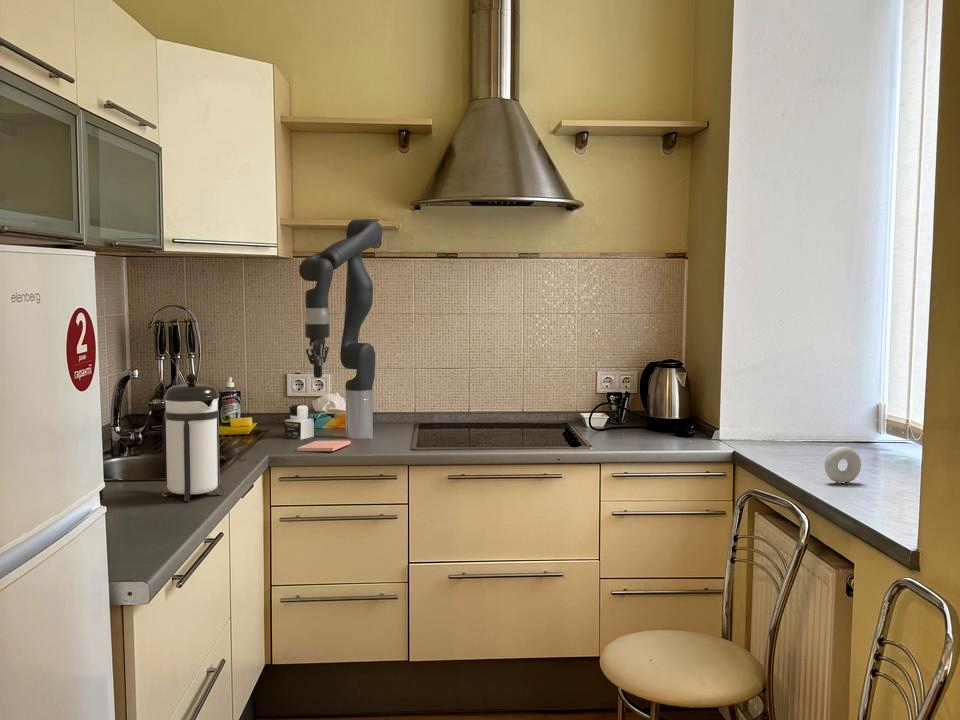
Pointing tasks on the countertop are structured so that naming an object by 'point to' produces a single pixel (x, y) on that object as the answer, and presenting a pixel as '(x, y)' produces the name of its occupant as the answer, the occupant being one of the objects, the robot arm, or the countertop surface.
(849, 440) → the countertop surface
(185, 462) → the coffee press
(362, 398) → the robot arm
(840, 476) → the donut
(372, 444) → the countertop surface
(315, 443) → the book
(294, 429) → the medicine bottle
